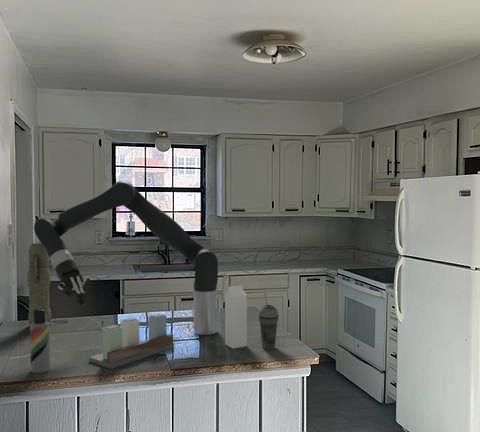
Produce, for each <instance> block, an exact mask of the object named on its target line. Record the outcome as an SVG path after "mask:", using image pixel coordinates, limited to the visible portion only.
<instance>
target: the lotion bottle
mask: <svg viewBox="0 0 480 432" xmlns="http://www.w3.org/2000/svg"><path fill="white" fill-rule="evenodd" d="M29 333H30V335H29V338H30V339H29V340H30V345H29V346H30V371H31V373H33V374H43V373H46V372H48V371H50V370H51V343H50V340H51V339H50V337H51V335H50V327H49V322H46V309H45V308H34V310H33V323H31V324H30V328H29Z"/></svg>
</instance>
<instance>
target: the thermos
mask: <svg viewBox="0 0 480 432" xmlns="http://www.w3.org/2000/svg"><path fill="white" fill-rule="evenodd" d="M28 248H29V249H28V263H29V264H28V270H27V287H28V299H29V300H28V301H29V302H28V303H29V304H28V306H29V310H28V314H27V319H28V328H29V329H30V324H31V323H33V310H34V308H45V309H46V322H49V328H50V327H51V325H52V323H51V320H52V311H51V308H50V286H51V271H50V268H49V255H48V253H47V251H46V249H45V247H44V246H43V244H42V243H41V242H39V243H38V242H37V243H35V242H34V243H31V244H30V246H29V247H28Z"/></svg>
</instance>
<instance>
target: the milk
mask: <svg viewBox="0 0 480 432" xmlns="http://www.w3.org/2000/svg"><path fill="white" fill-rule="evenodd" d="M247 298H248V295H247V293H246V292H245V291H244V286H243V285H234V286H233V285H232V286H229V287H228V290H227V292H225V293H224V334H225V335H224V344H225V345H226V346H228V347H229V348H231V349H238V348H239V349H240V348H244V347H247V346H248V341H247V340H248V332H247V331H248V329H247V328H248V326H247V325H248V319H247V318H248V315H247V314H248V313H247V312H248V308H247V307H248V306H247V305H248V303H247V302H248V299H247Z"/></svg>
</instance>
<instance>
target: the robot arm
mask: <svg viewBox="0 0 480 432" xmlns="http://www.w3.org/2000/svg"><path fill="white" fill-rule="evenodd" d="M122 206H123V207H125V208H126V209H128V210H129V211H130V212H132V213H133V214H134V215H135V216H136V217H137V218H139V220H140V221H141V222H142V223H143V225H144V226H145V227H146V228H147V229H148V230H149V231H150V233H152V234H153V235H154V236H155V237H157V238H158V239H159V240H160V241H162V242H163V243H165V244H166V245H168V246H169V247H171V248H172V249H173V250H175V251H177V252H179V253H180V254H181V255H182V256H184V257H185V258H186V259H187V261H189V262H190V264H191V265H192V266H193V268H194V281H193V333H194V334H195V335H200V336H205V335H206V336H208V335H214V334H217V333H219V331H220V329H219V327H220V325H219V324H220V323H219V321H220V320H219V317H220V316H219V308H218V305H217V304H218V299H217V298H218V297H217V296H218V295H217V294H218V289H217V288H218V286H217V285H218V282H219V281H218V279H219V262H218V261H219V260H218V257H217V256H216V254H215V253H214V252H212V251H211V250H210V249H207V248H206V247H204V246H203V245H201V244H199V243H198V241H195V240H194V239H193V238H192V237H191V236H190V235H189V234H188V233H187V231H186V230H184V228H182V226H181V225H180V224H179V223H177V221H175V220H174V219H173V218H172V217H170V216H169V215H168V214H167V213H165V212H164V211H163V210H161V209H160V208H159V207H157V205H154V204H153V203H152V202H150V201H149V200H148V199H147V198H146V197H144V196H143V195H142V194H141V193H140V192H139V191H138V189H136V187H135V186H134V185H133V184H132V183H131V182H129V181H127V180H118V181H116V182H114V183H113V184H112V186H111V187H109V188H108V189H107V190H106V191H104V192H103V193H101V194H99V195H98V196H96V197H94V198H92V199H89V200H86V201H84V202H82V203H79V204H76V205H74V206H71V207H70V208H67V209H66V210H63V211H61V212H60V213H59V214H58V218H57V219H56V220H55V221H52V220H51V219H48V218H45V217H44V218H43V217H42V218H38V219H37V220H36V221H35V223H34V225H33V231H34V233H35V236H36V237H37V239H38V240H39V243H42V244H43V246H44V247H45V249H46V251H47V253H48V258H49V259H50V262H51V265H52V268H53V269H54V271H55V273H56V275H57V278H58V279H59V280H60V281H59V282H60V283H59V285H58V286H57V290H58V291H60V292H61V293H63V294H64V295H66V296H67V297H70V298H73V297H74V298H75V300H76V301H77V303H78V305H80V306H81V307H82V306H86V305H87V303H88V299H87V297H86V295H85V294H86V293H87V292H88V290H89V288H90V287H89V286H90V283H91V278H89V277H87V278H84V276H83V275H82V274H81V273H80V269H79V266H78V265H77V262H76V261H75V259H74V257H73V255H72V254H71V252H70V251H69V248H68V246H67V245H66V244H65V242H64V240H63V239H62V238H61V237H62V236H63V235H65V234H66V233H68V231H69V230H70V229H73V228H75V227H77V226H79V225H81V224H83V223H85V222H86V221H89V220H90V219H93V218H94V217H96V216H99V215H100V214H102V213H105V212H107V211H110V210H112V209H115V208H119V207H122Z"/></svg>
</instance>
